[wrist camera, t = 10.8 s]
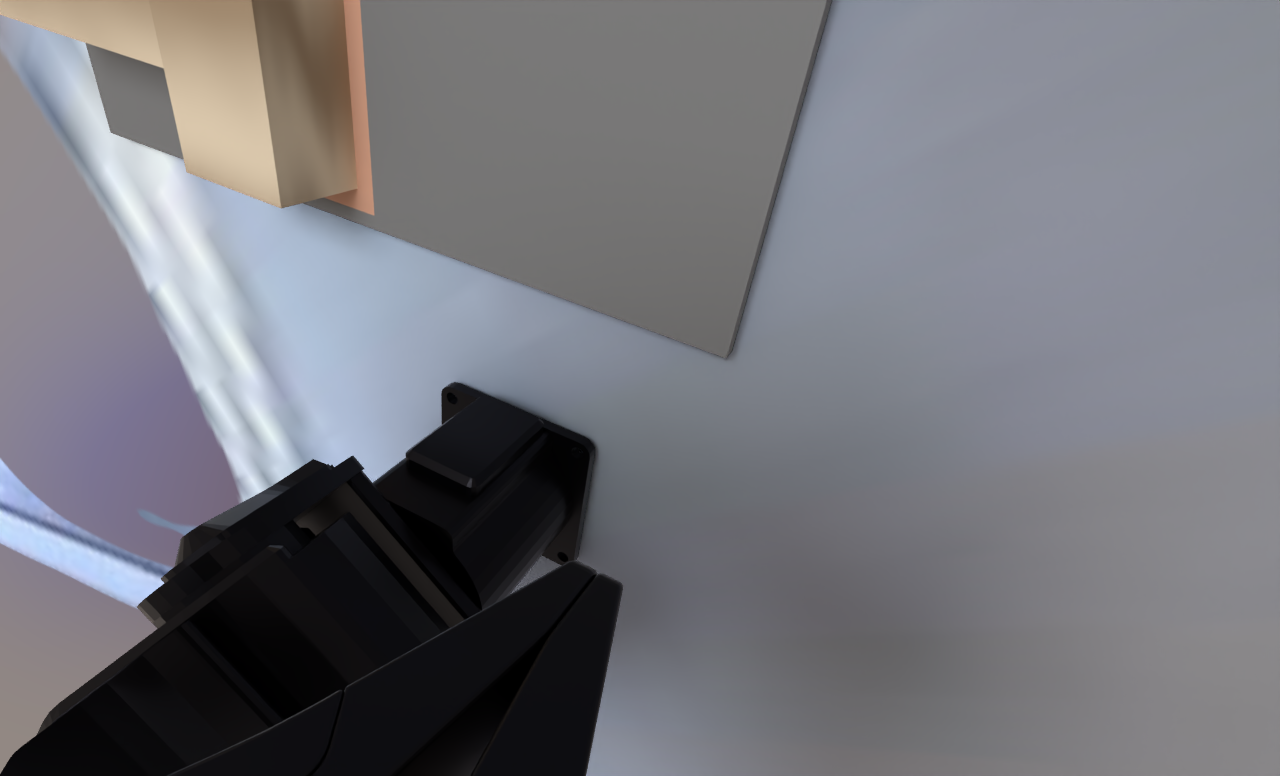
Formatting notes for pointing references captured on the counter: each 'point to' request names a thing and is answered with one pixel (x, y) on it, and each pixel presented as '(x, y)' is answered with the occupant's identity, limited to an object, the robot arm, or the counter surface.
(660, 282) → the mat
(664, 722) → the counter surface
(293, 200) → the t block
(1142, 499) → the counter surface
